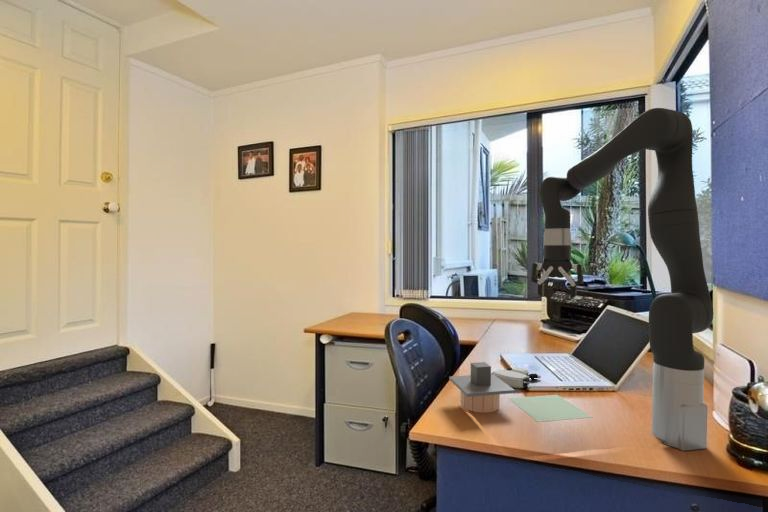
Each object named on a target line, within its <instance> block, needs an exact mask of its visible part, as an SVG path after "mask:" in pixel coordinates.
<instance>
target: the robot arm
mask: <svg viewBox="0 0 768 512" xmlns="http://www.w3.org/2000/svg"><path fill="white" fill-rule="evenodd" d="M693 132H694V131H693V125H692V121H691V119H690V117H689V116H688V115H687V114H686V113H684V112H683V111H679V110H674V109H670V108H665V107H664V108H663V107H655V108H650V109H648V110H646V111H643V113H641V114H639V115H638V116H637V117H635V118H634V119H633V120H632V121H631V122H630V123H629V124H628V125H626V126H625V127H624V128H623V129H622V130H620V131H619V132H618V133H617V134H615V136H614V137H612V138H611V139H610V140H609V141H607V142H606V143H605V144H604V145H602V146H601V147H600V148H599V149H597V150H596V151H595V152H593V153H591V154H590V155H589V156H587V157H585V158H583V159H582V160H580V161H578V162H577V163H575V164H574V165H572V166H571V167H570V168H569V169H568V170H567V172H566V176H564V177H563V176H547V177H546V178H544V179H543V180H542V182H541V184H540V186H539V196H540V197H539V198H540V202H541V204H542V209H543V212H544V217H545V218H544V234H543V236H544V237H543V262H542V263H540V262H533V263H532V265H531V266H532V270H531V282H532V283H535V284H536V285H537V294H538V296H539V297H540V298H543V297H544V296H545V284H544V282H545V281H546V280H548V278H553V279H554V278H557V279H563V278H565V280H566V281H567V282H568V283H569V284H570V289H569V293H570V294H569V299H570V300H574V298H576V297H577V286H581V285H582V284H584V266H583V263H578V264H577V263H575V264H574V263H572V234H571V233H572V231H571V212H570V210H569V209H567V208H564V207H563V206H562V203H561V202H566V201H570V200H572V199H574V198H575V197H577V196H578V195H580V194H581V192H582V191H584V190H585V188H587V187H589V186H591V185H593V184H595V183H596V182H599V181H600V180H602V179H603V178H605V177H606V176H608V175H609V174H610V173H611V172H612V171H613V170H614V168H615V167H616V166H617V165H618V164H619V163H620V162H621V161H622V160H624V159H625V158H627V157H629V156H631V155H633V154H637V153H638V152H641V151H644V150H649V151H654V152H655V156H656V163H657V178H656V179H657V180H656V183H655V186H654V189H653V191H652V193H651V196H650V199H649V200H648V201H649V202H648V206H647V217H648V228H649V234H650V238H651V240H652V243H653V244H654V247H655V249H656V250H657V252H658V254H659V255H660V257H661V260H662V261H663V262H664V264H665V266H666V268H667V271H668V274H669V275H668V276H669V281H670V293H663V294H660V295H658V296H656V297H655V298H654V299H653V300H652V302H651V304H650V305H649V309H648V310H649V311H648V336H649V337H648V338H649V347H650V351H651V352H652V357H653V358H652V359H653V363H652V364H653V365H652V367H653V368H652V395H651V397H652V400H651V403H652V405H651V434H652V435H653V436H654V437H656V438H657V439H659V440H660V442H661V441H662V442H661V443H662V444H663V445H667V446H668V447H673V448H676V449H679V450H680V451H694V450H702V449H707V447H708V444H707V443H708V442H707V440H708V439H707V437H708V411H709V410H708V408H709V407H708V405H707V404H706V403H704V389H705V388H704V384H705V356H704V355H703V354H702V353H701V352H699V351H697V350H696V349H695V348H694V339H693V338H694V337H693V335H694V334H697V333H702V332H704V331H706V330H707V329H709V328H710V326H711V325H712V322H713V319H714V307H713V302H712V298H711V295H710V294H711V293H710V290H709V286H708V281H707V278H706V274H705V268H704V260H703V259H704V258H703V251H702V243H701V235H700V233H701V232H700V222H699V213H698V205H697V200H696V192H695V190H696V189H695V181H694V178H695V177H694V172H693ZM541 268H542V269H543V271H544V273H543V275H542V276H541V277H540V278H538V275H539V274H538V273H539V270H541ZM573 269H574V271H575V272H576V273H577V280H575V278H573V276H572V274H571V273H570V271H572V270H573Z"/></svg>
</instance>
